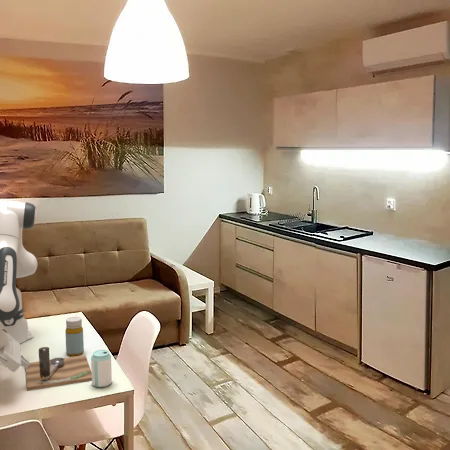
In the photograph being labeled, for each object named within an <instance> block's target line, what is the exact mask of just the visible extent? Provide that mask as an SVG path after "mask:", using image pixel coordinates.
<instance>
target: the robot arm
mask: <svg viewBox="0 0 450 450" xmlns="http://www.w3.org/2000/svg"><path fill="white" fill-rule="evenodd" d="M36 208H37V207H36V206H35V205H34V204H33V203H31V202H23V201H17V200H10V199H8V200H5V199H0V364H1V365H3V366H4V367H5V368H7V369H8V370H9V371H11V372H14V373H15V372H16V371H18V370H19V368H20V367H23V368H25V369H26V368H28V367H29V363H30V361H29V360H28V359H27V358H25V356H24V355H23V354H22V352H21V351H22V349H21V348H22V347H21V344H23V343H25V342H26V341H29V340H31V339H33V338H34V335H33V333H32V332H31V331H30V330H29V327H28V326H29V325H28V324H29V323H28V320H27V319H26V318H25V317H24V316H25V315H24V308H23V301H22V300H23V299H22V298H23V297H22V296H23V295H22V292H21V290H20V289H19V288H17V279H18V278H19V279H20V278H24V277H25V278H26V277H29V276H31V275H34V274H35V272H36V271H37V268H38V259H37V257H36V256H35V254H33V253H32V252H30V251H27V250H26V248H25V247H24V245H23V244H24V243H23V230H28V229H31V228H33V227H34V226H35V224H36V222H37V220H38V212H37V211H38V210H37V209H36Z"/></svg>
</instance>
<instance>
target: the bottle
mask: <svg viewBox="0 0 450 450" xmlns="http://www.w3.org/2000/svg"><path fill="white" fill-rule="evenodd" d="M82 319H83V318H82V317H80V316H70V317H67V318H66V320H65V325H66V327H65V351H66V355H67V356H68V357H75V356H82V355H83V353H84V351H85V349H84V347H85V346H84V345H85V344H84V328H83V326H82V324H83V323H82V321H83V320H82Z"/></svg>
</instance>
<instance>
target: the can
mask: <svg viewBox="0 0 450 450" xmlns="http://www.w3.org/2000/svg"><path fill="white" fill-rule="evenodd" d="M90 360H91V362H90V365H91V367H90V369H91V372H92V381H91V384H92V386H94V387H96V388H105V387H108V386H110V385H111V384H112V380H113V379H112V377H113V376H112V373H113V372H112V355H111V354H110V351H109V350H108V349H107V350H106V349H98V350H95V351H93V353H92V355H91V358H90Z"/></svg>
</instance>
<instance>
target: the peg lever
mask: <svg viewBox="0 0 450 450" xmlns="http://www.w3.org/2000/svg"><path fill="white" fill-rule="evenodd" d="M50 358H51V357H50V347H48V346H43V347H39V348H38V362H39V368H40V380H48V379H49V378H50V376H51V375H52V374H53V373H54V372H55V371H56V369H57V368H59V367H62V366H63V365H64V359H63V358H64V357H53V358H52V359H50ZM50 360H51V361H50ZM50 363H51V365H50Z"/></svg>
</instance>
